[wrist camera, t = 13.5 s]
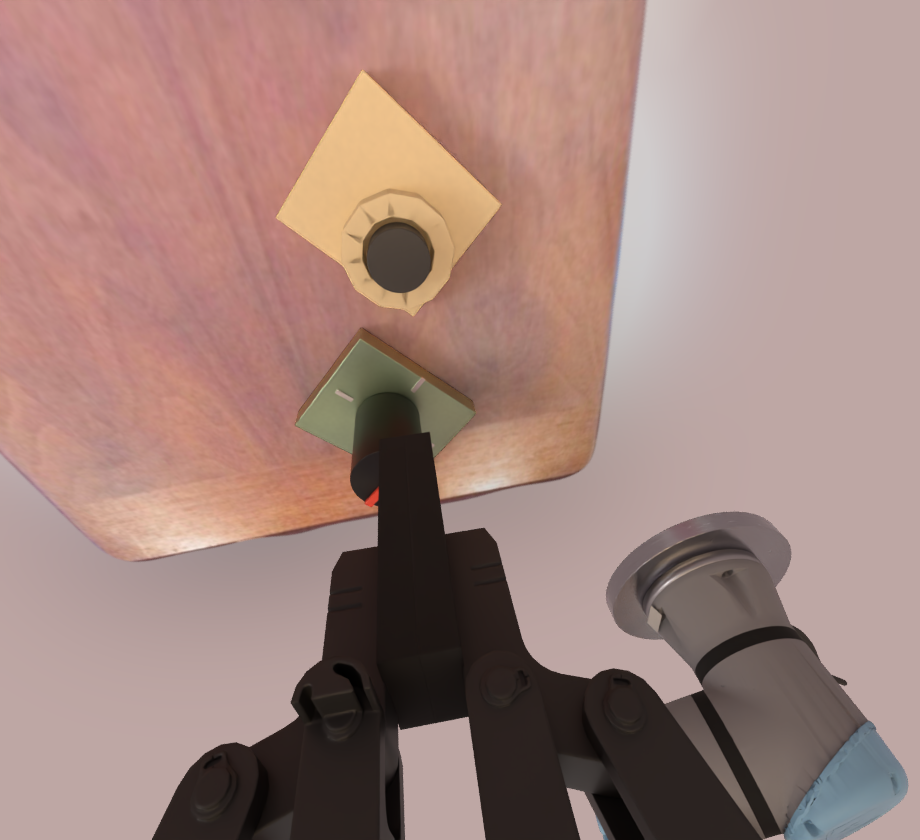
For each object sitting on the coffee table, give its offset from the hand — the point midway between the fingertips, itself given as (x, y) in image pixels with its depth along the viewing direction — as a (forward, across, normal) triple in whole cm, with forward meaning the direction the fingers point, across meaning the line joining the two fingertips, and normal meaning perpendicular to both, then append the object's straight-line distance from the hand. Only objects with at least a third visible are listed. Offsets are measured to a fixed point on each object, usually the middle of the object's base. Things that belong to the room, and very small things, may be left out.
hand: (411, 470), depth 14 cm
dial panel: (+21, -2, -10) cm, 23 cm away
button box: (+21, 0, +4) cm, 21 cm away
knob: (+19, -2, -10) cm, 22 cm away
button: (+17, 0, +2) cm, 17 cm away
